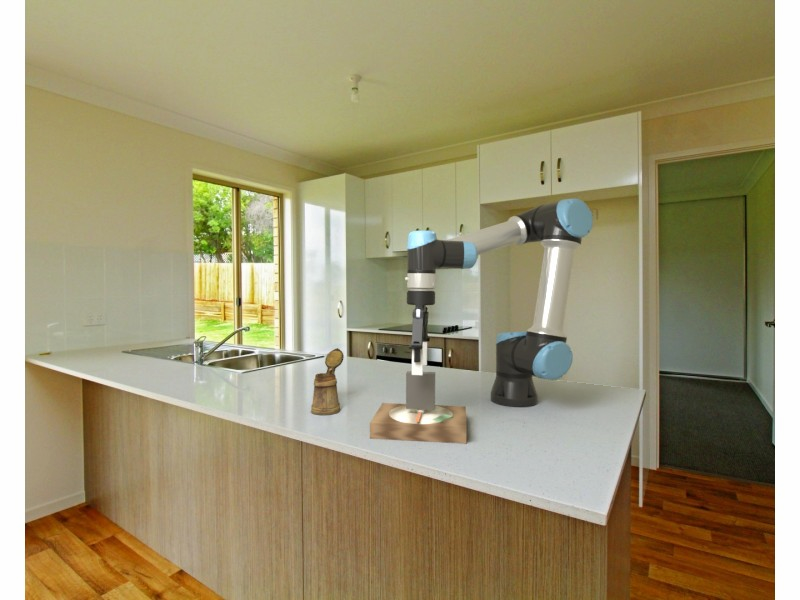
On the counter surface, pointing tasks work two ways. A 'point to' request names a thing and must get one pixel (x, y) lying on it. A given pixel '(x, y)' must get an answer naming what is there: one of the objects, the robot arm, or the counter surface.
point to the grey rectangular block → (420, 392)
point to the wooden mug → (327, 386)
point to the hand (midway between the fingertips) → (419, 369)
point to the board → (419, 424)
